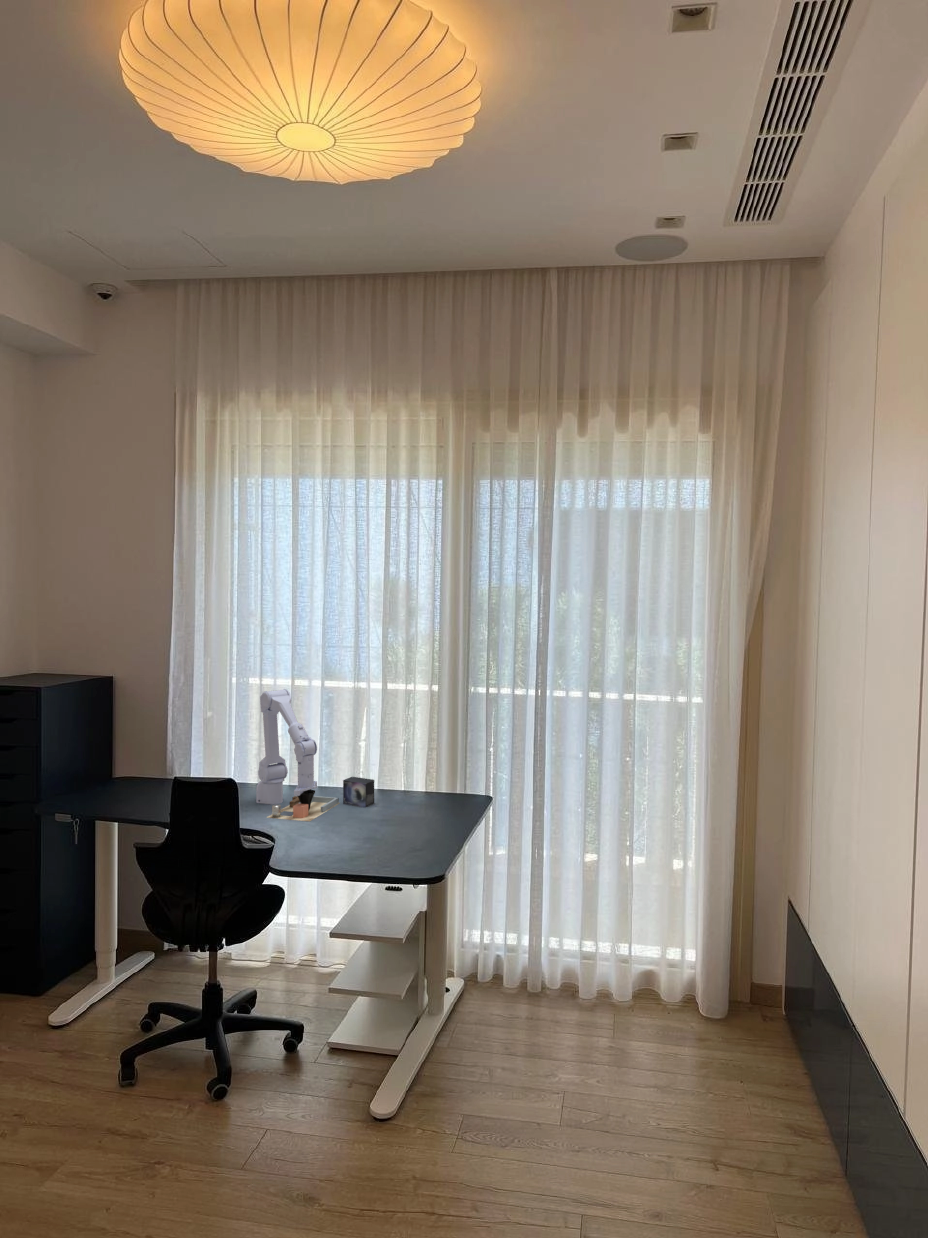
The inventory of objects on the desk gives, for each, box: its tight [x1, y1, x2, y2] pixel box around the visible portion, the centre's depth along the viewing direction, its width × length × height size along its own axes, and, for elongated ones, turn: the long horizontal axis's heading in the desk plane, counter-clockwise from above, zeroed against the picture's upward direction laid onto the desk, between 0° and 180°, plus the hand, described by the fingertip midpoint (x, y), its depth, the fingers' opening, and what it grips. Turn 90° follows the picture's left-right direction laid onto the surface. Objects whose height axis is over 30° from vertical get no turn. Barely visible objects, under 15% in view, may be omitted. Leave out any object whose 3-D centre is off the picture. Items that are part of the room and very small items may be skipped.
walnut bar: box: [289, 795, 300, 807], centre depth 338 cm, size 4×8×2 cm, turn 164°
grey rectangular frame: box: [300, 795, 340, 813], centre depth 335 cm, size 11×14×2 cm
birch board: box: [266, 802, 341, 822], centre depth 330 cm, size 17×26×1 cm, turn 164°
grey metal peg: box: [271, 804, 282, 819], centre depth 321 cm, size 3×3×4 cm
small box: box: [342, 776, 375, 808], centre depth 339 cm, size 11×6×10 cm, turn 62°
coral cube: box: [292, 803, 308, 818], centre depth 322 cm, size 4×4×4 cm
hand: (305, 810), depth 326 cm, fingers closed
